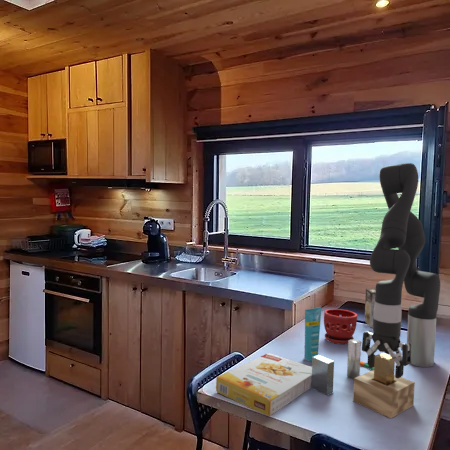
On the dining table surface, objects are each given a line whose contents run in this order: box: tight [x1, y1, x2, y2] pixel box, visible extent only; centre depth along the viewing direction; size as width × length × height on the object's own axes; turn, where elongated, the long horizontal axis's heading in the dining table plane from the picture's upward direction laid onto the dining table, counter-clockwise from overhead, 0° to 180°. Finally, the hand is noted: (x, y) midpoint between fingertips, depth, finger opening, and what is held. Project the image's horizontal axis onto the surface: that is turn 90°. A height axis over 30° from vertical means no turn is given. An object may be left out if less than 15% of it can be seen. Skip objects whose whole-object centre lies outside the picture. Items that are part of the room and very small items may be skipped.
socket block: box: [352, 370, 416, 419], centre depth 125 cm, size 12×12×7 cm
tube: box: [304, 306, 322, 362], centre depth 156 cm, size 7×5×19 cm, turn 123°
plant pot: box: [323, 308, 358, 345], centre depth 176 cm, size 13×13×12 cm
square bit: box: [374, 352, 396, 386], centre depth 124 cm, size 4×4×12 cm
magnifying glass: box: [360, 360, 374, 371], centre depth 150 cm, size 15×6×2 cm, turn 53°
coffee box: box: [364, 288, 376, 328], centre depth 197 cm, size 9×6×16 cm
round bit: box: [346, 339, 362, 380], centre depth 142 cm, size 4×4×12 cm
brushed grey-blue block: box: [310, 354, 335, 396], centre depth 132 cm, size 3×6×10 cm, turn 38°
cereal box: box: [215, 352, 312, 417], centre depth 134 cm, size 20×6×28 cm
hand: (384, 372), depth 124 cm, fingers open, 8 cm apart
